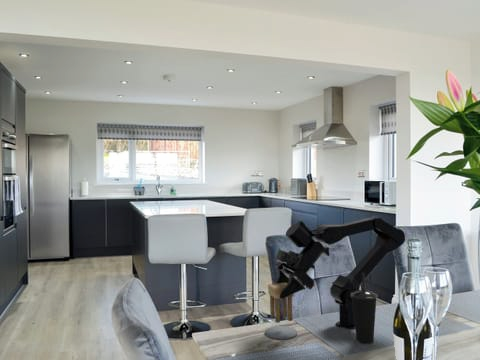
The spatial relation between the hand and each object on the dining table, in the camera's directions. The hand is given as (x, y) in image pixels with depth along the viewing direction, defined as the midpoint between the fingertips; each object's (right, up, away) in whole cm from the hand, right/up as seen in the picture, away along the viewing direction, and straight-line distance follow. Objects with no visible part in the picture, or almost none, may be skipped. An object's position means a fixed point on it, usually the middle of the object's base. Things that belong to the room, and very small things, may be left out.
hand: (276, 295), depth 131 cm
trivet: (+1, -12, 0) cm, 12 cm away
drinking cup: (+26, -12, -7) cm, 29 cm away
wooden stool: (+2, -8, 0) cm, 8 cm away
